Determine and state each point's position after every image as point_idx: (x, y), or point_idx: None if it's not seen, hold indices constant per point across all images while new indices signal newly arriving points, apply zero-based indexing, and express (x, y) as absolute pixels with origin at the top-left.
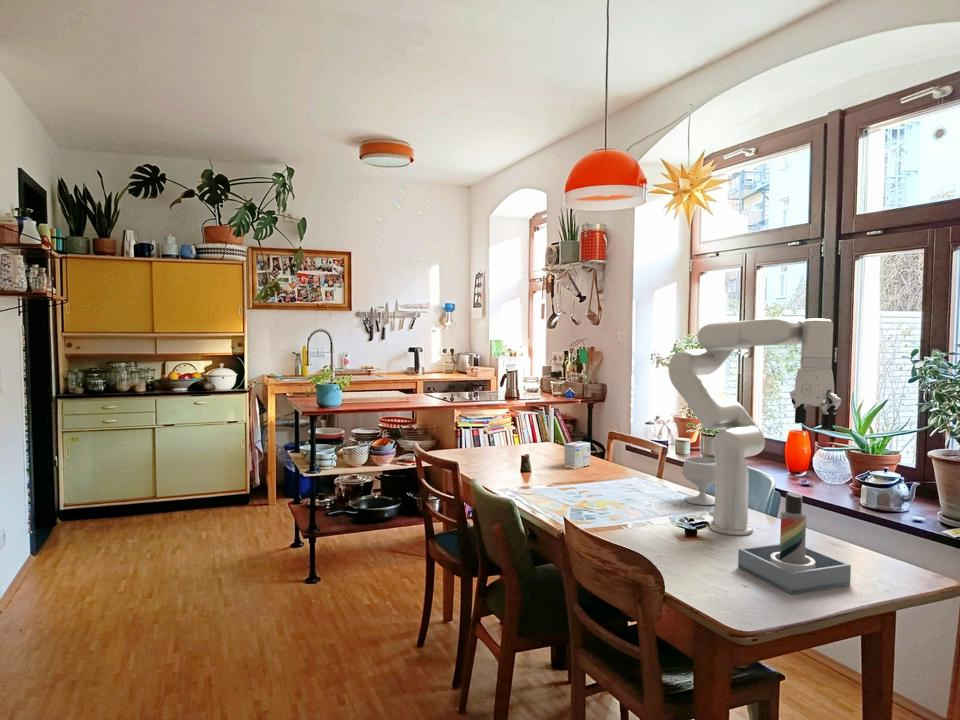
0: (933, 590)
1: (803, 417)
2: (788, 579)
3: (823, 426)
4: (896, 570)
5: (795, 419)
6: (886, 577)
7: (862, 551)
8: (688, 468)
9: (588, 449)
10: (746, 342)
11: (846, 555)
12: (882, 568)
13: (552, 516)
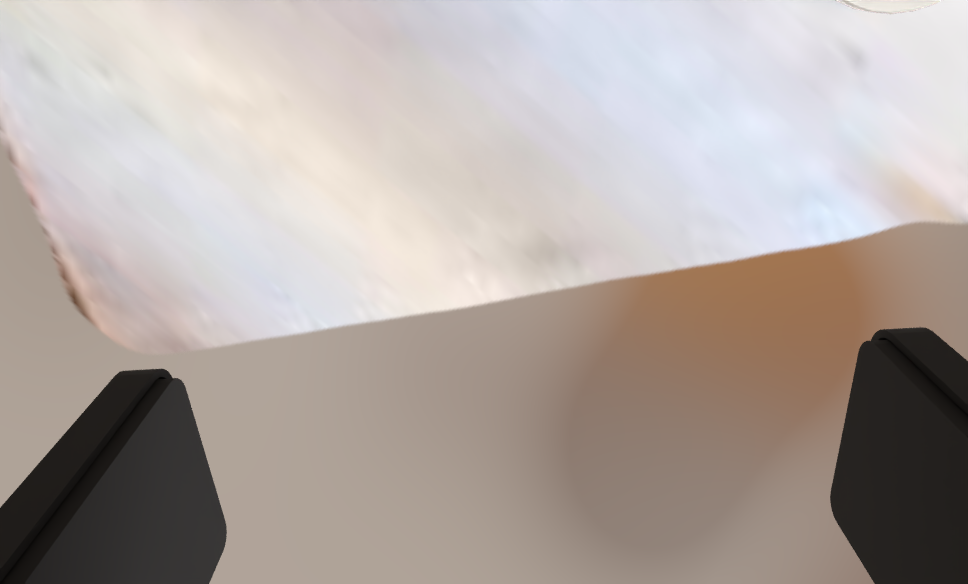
0: (49, 238)
1: (890, 544)
2: None
3: (104, 397)
4: (245, 264)
5: (944, 360)
6: (176, 172)
7: (452, 296)
8: None
9: None
10: None
11: (422, 202)
12: (269, 230)
13: None
